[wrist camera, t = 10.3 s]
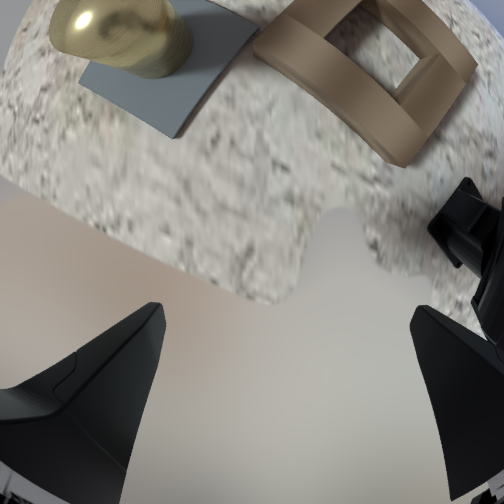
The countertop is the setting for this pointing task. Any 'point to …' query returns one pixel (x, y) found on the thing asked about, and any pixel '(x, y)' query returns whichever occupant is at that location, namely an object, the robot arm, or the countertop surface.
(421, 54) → the housing
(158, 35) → the end plug
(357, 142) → the countertop surface
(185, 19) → the mat
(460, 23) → the countertop surface
